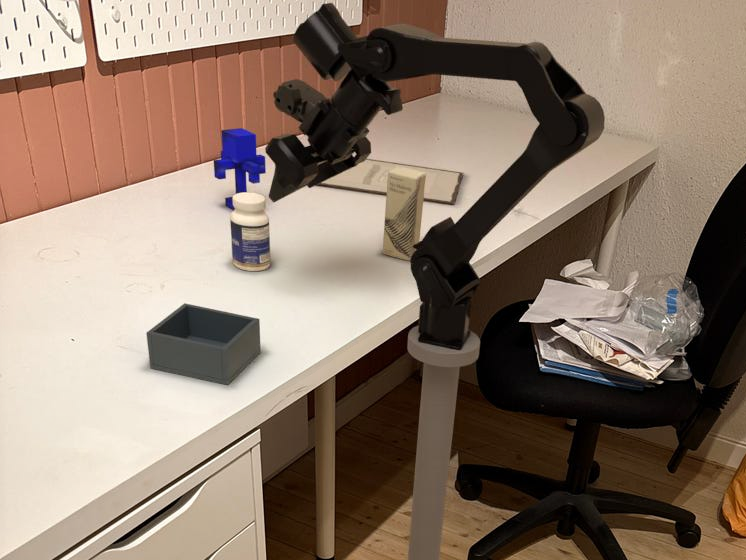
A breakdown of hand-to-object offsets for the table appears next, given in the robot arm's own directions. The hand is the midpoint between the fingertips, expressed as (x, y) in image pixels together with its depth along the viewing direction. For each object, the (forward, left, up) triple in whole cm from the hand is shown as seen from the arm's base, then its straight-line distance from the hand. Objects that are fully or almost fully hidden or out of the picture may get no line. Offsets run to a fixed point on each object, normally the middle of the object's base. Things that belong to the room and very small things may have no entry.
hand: (289, 192), depth 136 cm
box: (-12, -20, -13) cm, 26 cm away
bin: (-1, +30, -13) cm, 33 cm away
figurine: (+19, -27, -13) cm, 35 cm away
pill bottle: (+7, -3, -13) cm, 15 cm away
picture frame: (+3, -59, -13) cm, 60 cm away
